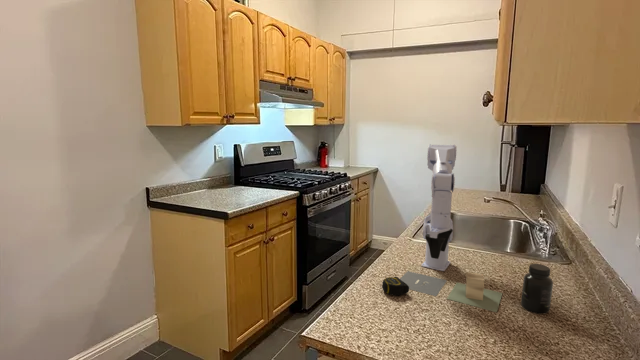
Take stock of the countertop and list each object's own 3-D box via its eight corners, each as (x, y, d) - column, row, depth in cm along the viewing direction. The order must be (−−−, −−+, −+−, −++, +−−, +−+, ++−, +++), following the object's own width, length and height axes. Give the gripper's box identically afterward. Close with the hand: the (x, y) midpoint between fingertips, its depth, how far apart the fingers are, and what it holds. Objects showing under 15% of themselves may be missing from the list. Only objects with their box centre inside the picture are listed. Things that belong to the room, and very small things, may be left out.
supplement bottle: (515, 304, 100) (519, 263, 98) (531, 300, 102) (536, 260, 100) (538, 316, 93) (543, 273, 91) (555, 311, 96) (560, 269, 94)
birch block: (465, 291, 107) (466, 272, 106) (481, 293, 105) (483, 274, 105) (466, 297, 103) (467, 278, 102) (482, 300, 101) (484, 280, 100)
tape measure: (409, 296, 104) (410, 284, 104) (388, 299, 102) (389, 287, 101) (397, 286, 111) (398, 274, 110) (378, 289, 108) (378, 277, 108)
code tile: (407, 271, 122) (407, 271, 121) (447, 280, 115) (447, 280, 115) (393, 285, 111) (393, 285, 111) (436, 296, 104) (436, 296, 104)
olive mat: (456, 282, 113) (456, 282, 113) (502, 293, 106) (502, 293, 106) (446, 299, 102) (446, 298, 102) (496, 312, 95) (496, 311, 95)
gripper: (434, 205, 118) (431, 245, 120) (420, 214, 106) (418, 258, 108) (456, 208, 114) (453, 249, 116) (445, 218, 102) (442, 263, 104)
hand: (438, 254), depth 112 cm, fingers open, 7 cm apart
